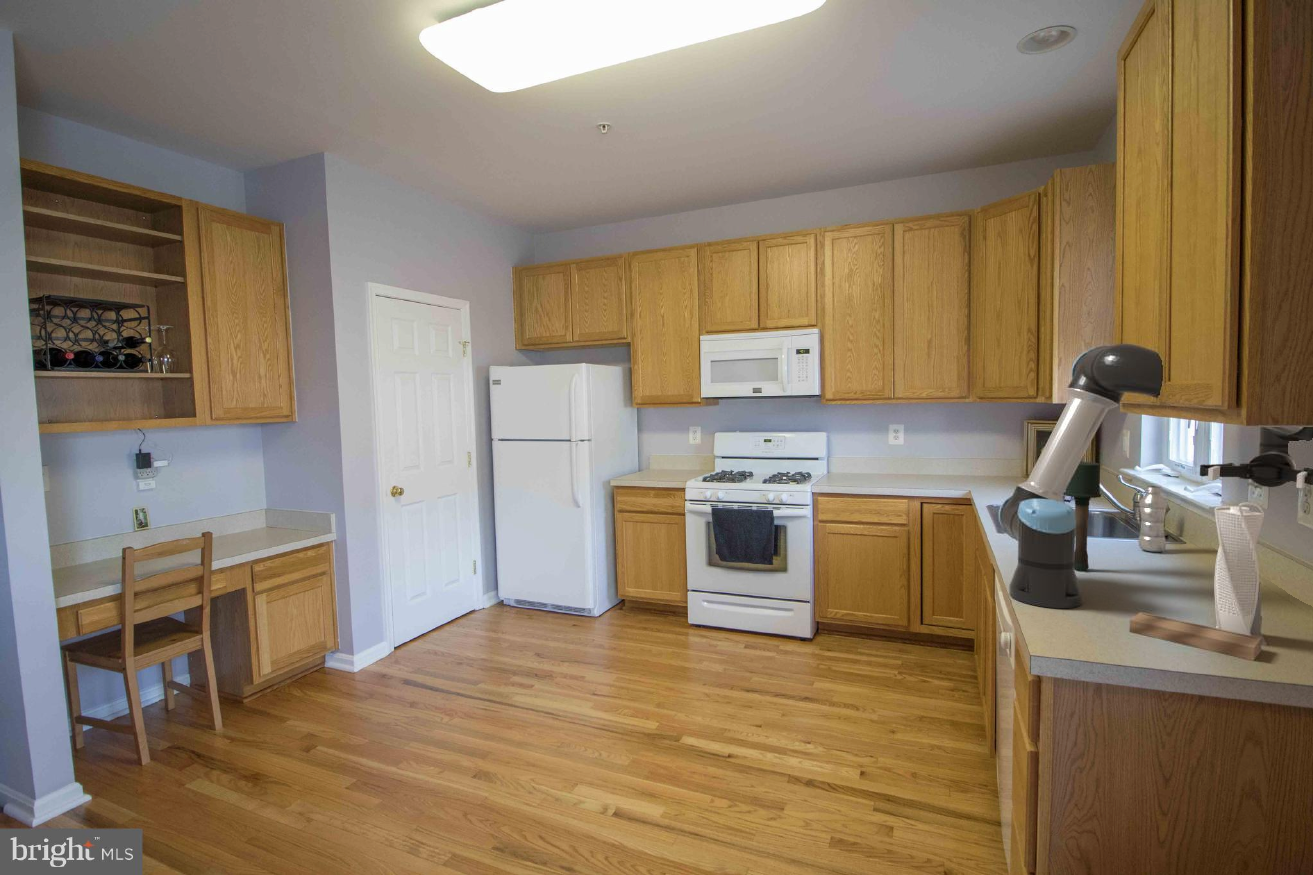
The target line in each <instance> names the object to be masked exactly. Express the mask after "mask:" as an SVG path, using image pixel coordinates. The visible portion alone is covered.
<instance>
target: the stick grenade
mask: <svg viewBox="0 0 1313 875" xmlns="http://www.w3.org/2000/svg"><path fill="white" fill-rule="evenodd" d="M1100 489H1101V464H1100V463H1098V462H1090V461H1080V463H1079V465H1078V467H1077V469H1076V471H1075V473H1074V475H1073V476H1072V478H1071V480H1070V482H1069V484H1068V486H1067V488H1066V490H1065V492H1064V493H1063V496H1067V497H1071V498H1073V499H1074V505H1075V506H1074V511H1075V518H1076V526H1075V557H1074V571H1077V572H1087V571H1088V570H1089V568H1090V565H1089V554H1088V521H1089V516H1090V515H1089V514H1090V513H1089V512H1090V500H1091V499H1096V498H1101V497H1102V493H1101V492H1100Z"/></svg>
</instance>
